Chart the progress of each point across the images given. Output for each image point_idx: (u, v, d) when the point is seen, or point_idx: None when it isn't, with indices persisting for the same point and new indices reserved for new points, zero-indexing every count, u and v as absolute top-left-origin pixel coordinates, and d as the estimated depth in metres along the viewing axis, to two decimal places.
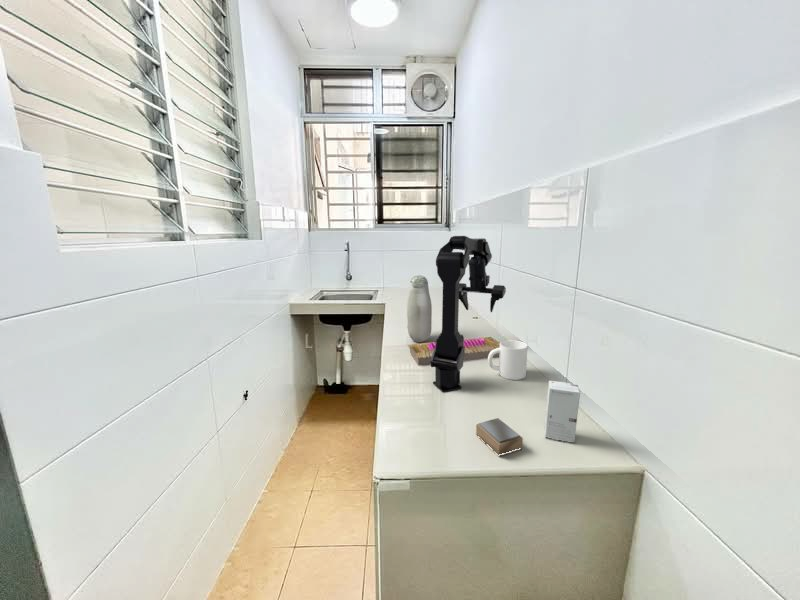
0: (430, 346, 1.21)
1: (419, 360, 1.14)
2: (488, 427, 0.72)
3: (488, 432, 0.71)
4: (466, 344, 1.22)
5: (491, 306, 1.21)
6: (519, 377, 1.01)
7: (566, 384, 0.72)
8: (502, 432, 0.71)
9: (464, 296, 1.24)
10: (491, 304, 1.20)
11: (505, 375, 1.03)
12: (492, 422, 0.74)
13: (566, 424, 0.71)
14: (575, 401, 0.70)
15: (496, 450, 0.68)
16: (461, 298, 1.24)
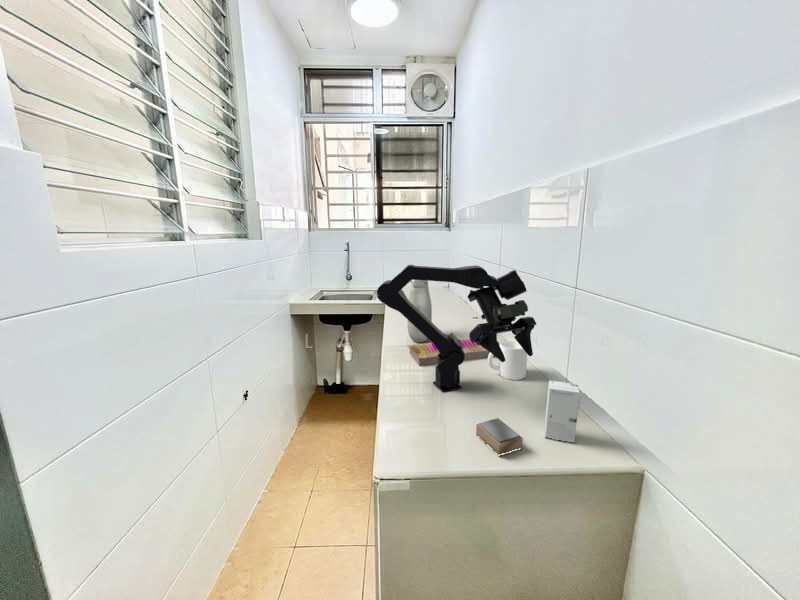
0: (430, 346, 1.21)
1: (420, 360, 1.14)
2: (488, 427, 0.72)
3: (488, 432, 0.71)
4: (466, 344, 1.22)
5: None
6: (519, 377, 1.01)
7: (566, 384, 0.72)
8: (502, 432, 0.71)
9: (517, 336, 0.90)
10: None
11: (505, 375, 1.03)
12: (492, 422, 0.74)
13: (566, 424, 0.71)
14: (575, 401, 0.70)
15: (496, 450, 0.68)
16: None
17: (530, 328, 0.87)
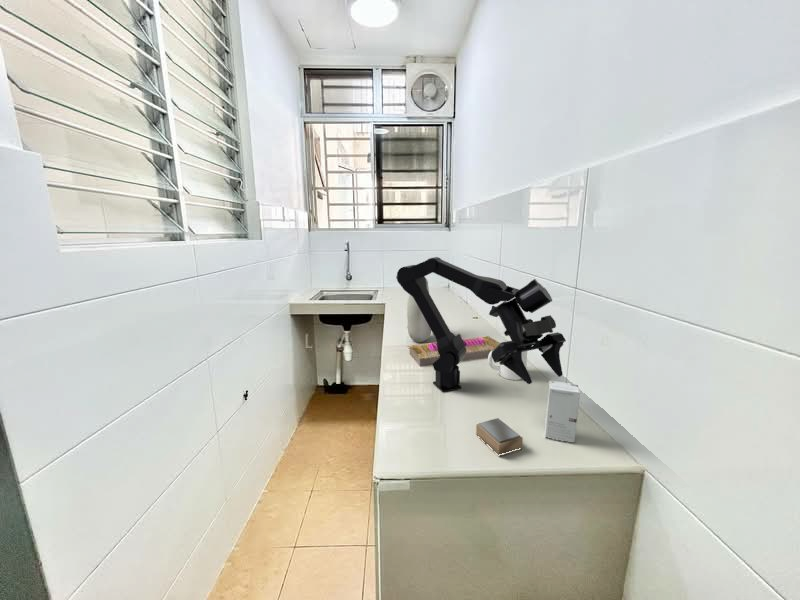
0: (431, 347, 1.20)
1: (421, 361, 1.14)
2: (488, 427, 0.72)
3: (488, 432, 0.71)
4: (466, 344, 1.22)
5: None
6: (519, 377, 1.01)
7: (566, 384, 0.72)
8: (502, 432, 0.71)
9: (545, 353, 0.83)
10: None
11: (505, 375, 1.03)
12: (492, 422, 0.74)
13: (566, 424, 0.71)
14: (575, 401, 0.70)
15: (496, 450, 0.68)
16: None
17: (559, 346, 0.80)
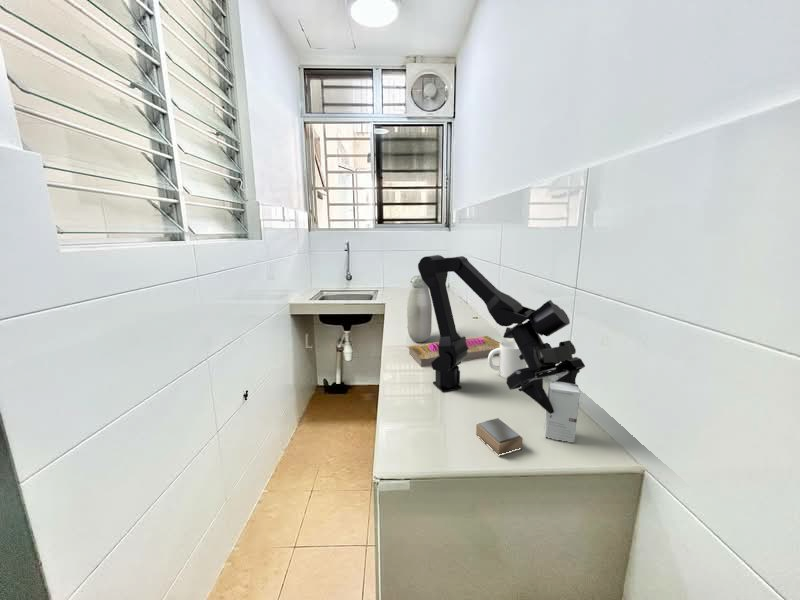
0: (431, 347, 1.20)
1: (422, 361, 1.13)
2: (488, 427, 0.72)
3: (488, 432, 0.71)
4: (466, 344, 1.22)
5: None
6: None
7: (566, 384, 0.72)
8: (502, 432, 0.71)
9: (560, 380, 0.78)
10: None
11: (505, 375, 1.03)
12: (492, 422, 0.74)
13: (566, 424, 0.71)
14: (575, 401, 0.70)
15: (496, 450, 0.68)
16: None
17: (575, 373, 0.75)
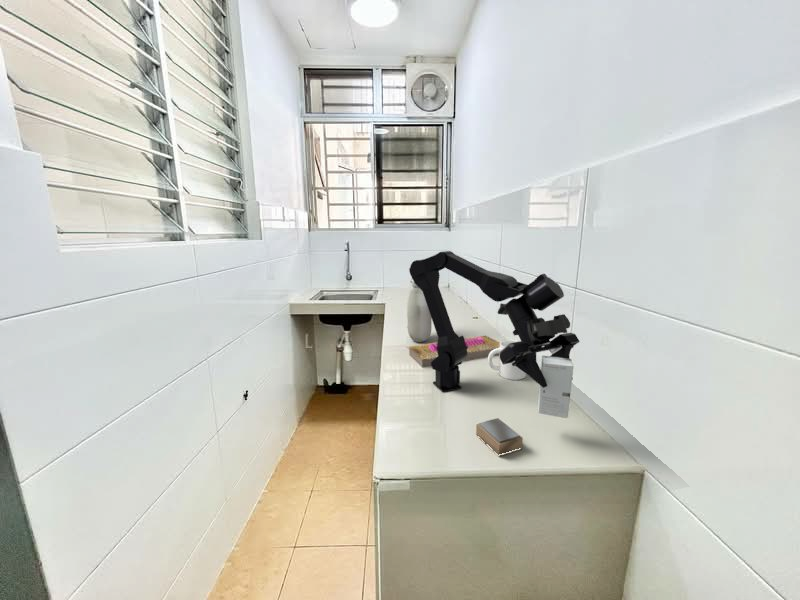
0: (431, 347, 1.20)
1: (423, 362, 1.13)
2: (488, 427, 0.72)
3: (488, 432, 0.71)
4: (466, 343, 1.23)
5: None
6: (519, 377, 1.01)
7: (559, 358, 0.71)
8: (502, 432, 0.71)
9: (553, 356, 0.76)
10: None
11: (505, 375, 1.03)
12: (492, 422, 0.74)
13: (560, 399, 0.70)
14: (568, 375, 0.68)
15: (496, 450, 0.68)
16: None
17: (569, 348, 0.74)
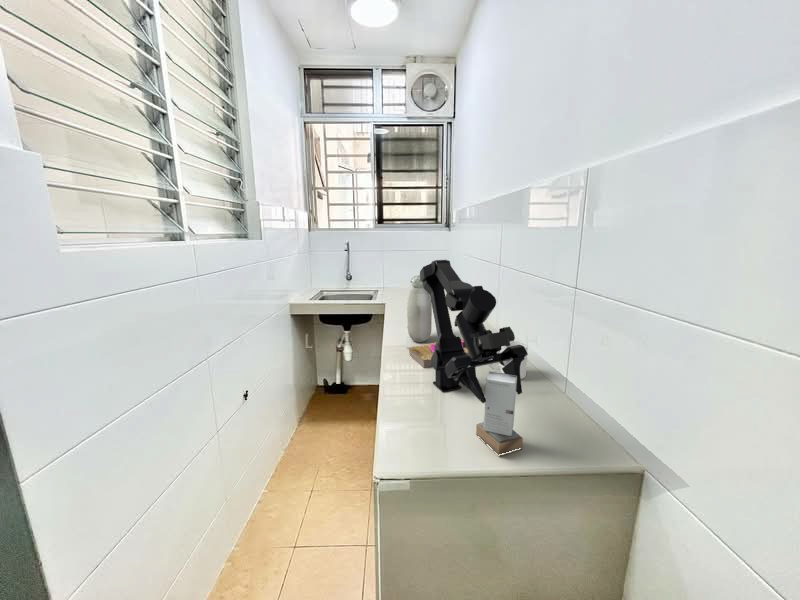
0: (432, 347, 1.19)
1: (425, 362, 1.12)
2: None
3: (488, 432, 0.71)
4: None
5: None
6: None
7: (505, 375, 0.70)
8: None
9: (505, 368, 0.75)
10: None
11: None
12: None
13: (503, 416, 0.69)
14: (511, 393, 0.67)
15: (496, 450, 0.68)
16: None
17: (519, 360, 0.73)
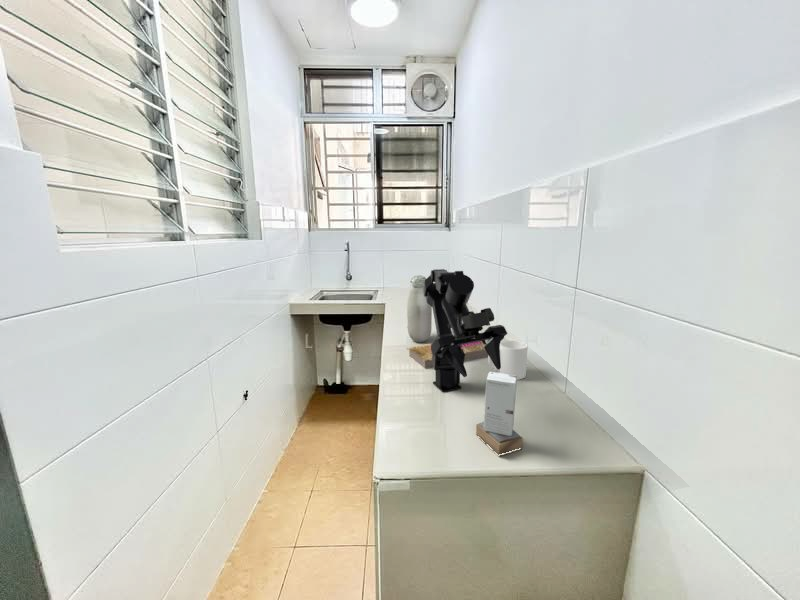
0: None
1: (426, 363, 1.12)
2: None
3: (488, 432, 0.71)
4: None
5: None
6: (519, 377, 1.01)
7: (505, 375, 0.70)
8: None
9: (487, 346, 0.82)
10: None
11: None
12: None
13: (503, 416, 0.69)
14: (511, 393, 0.67)
15: (496, 450, 0.68)
16: None
17: (499, 338, 0.79)
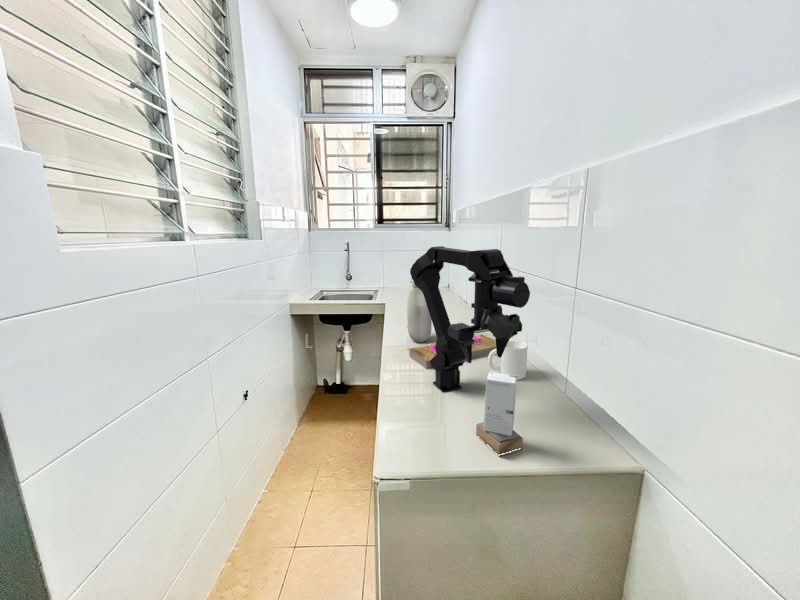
0: (433, 348, 1.19)
1: (427, 363, 1.11)
2: None
3: (488, 432, 0.71)
4: None
5: None
6: (519, 377, 1.01)
7: (505, 375, 0.70)
8: None
9: None
10: None
11: None
12: None
13: (503, 416, 0.69)
14: (511, 393, 0.67)
15: (496, 450, 0.68)
16: None
17: (512, 335, 0.83)
